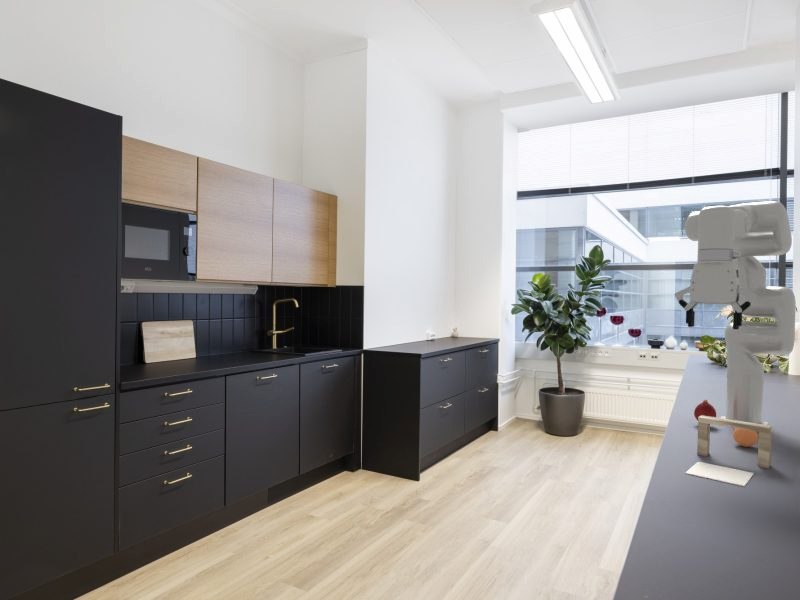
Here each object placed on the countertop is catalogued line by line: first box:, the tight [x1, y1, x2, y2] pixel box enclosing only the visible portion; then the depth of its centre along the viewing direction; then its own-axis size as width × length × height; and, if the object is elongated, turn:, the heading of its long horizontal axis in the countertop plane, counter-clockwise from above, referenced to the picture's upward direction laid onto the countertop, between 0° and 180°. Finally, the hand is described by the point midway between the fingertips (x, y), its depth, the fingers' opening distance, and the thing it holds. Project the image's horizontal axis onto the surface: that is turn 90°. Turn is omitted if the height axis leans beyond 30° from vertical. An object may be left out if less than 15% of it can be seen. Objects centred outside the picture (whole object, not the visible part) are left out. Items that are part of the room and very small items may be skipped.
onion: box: [693, 399, 717, 422], centre depth 160 cm, size 6×6×8 cm
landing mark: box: [684, 461, 755, 488], centre depth 116 cm, size 11×11×1 cm
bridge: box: [696, 415, 773, 469], centre depth 127 cm, size 3×14×9 cm, turn 48°
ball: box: [732, 428, 759, 448], centre depth 139 cm, size 6×6×6 cm
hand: (712, 327), depth 130 cm, fingers open, 9 cm apart
